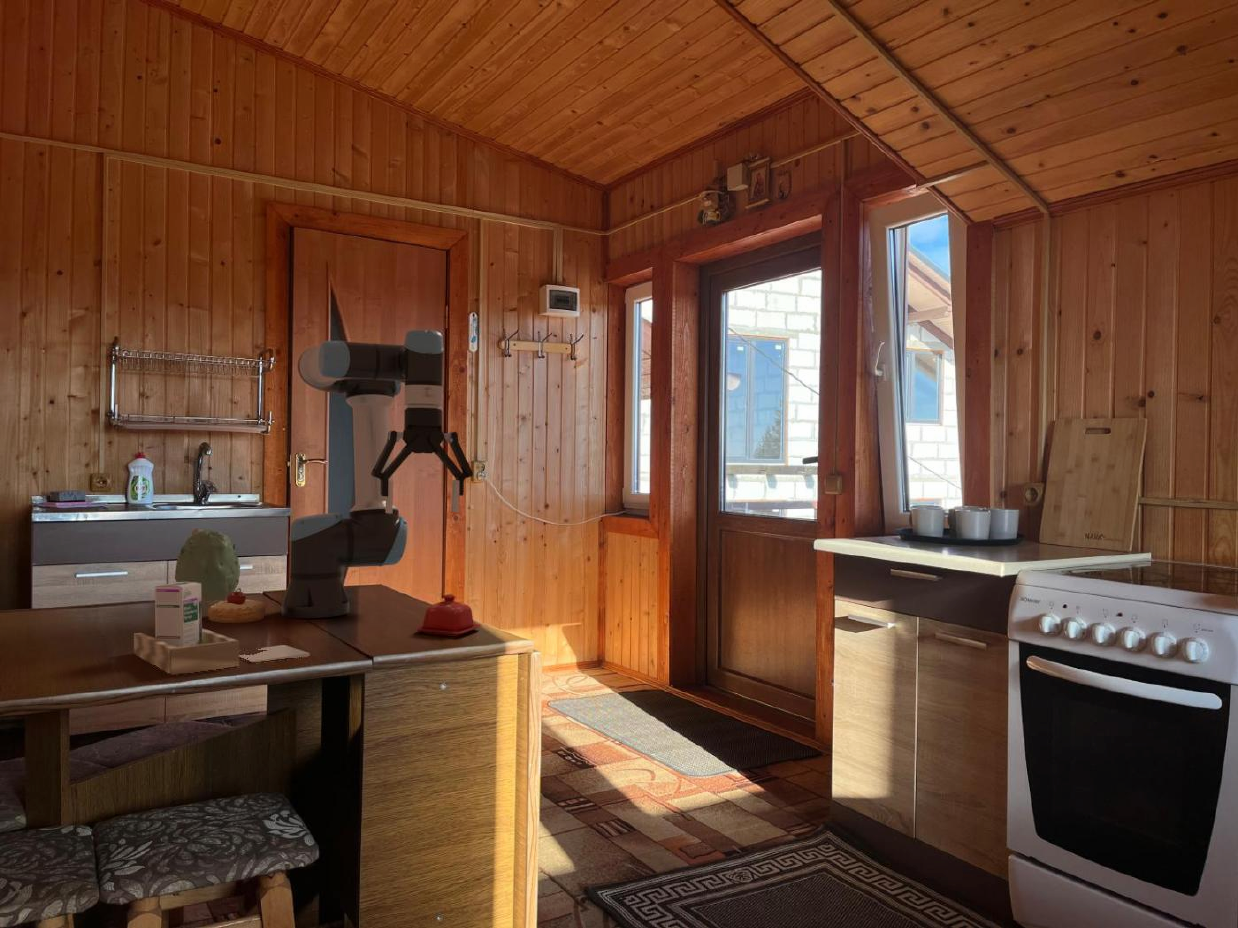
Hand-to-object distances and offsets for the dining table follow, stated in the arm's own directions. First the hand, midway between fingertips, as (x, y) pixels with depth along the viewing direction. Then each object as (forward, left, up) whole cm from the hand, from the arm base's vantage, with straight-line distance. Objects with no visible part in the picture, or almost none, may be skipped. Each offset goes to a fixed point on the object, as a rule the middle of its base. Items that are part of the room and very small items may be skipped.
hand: (422, 512), depth 190 cm
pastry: (-47, -18, -27) cm, 58 cm away
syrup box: (-17, -41, -27) cm, 52 cm away
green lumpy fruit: (-80, -13, -27) cm, 85 cm away
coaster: (-10, -27, -27) cm, 40 cm away
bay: (-14, -41, -27) cm, 51 cm away
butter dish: (-10, +13, -27) cm, 32 cm away
